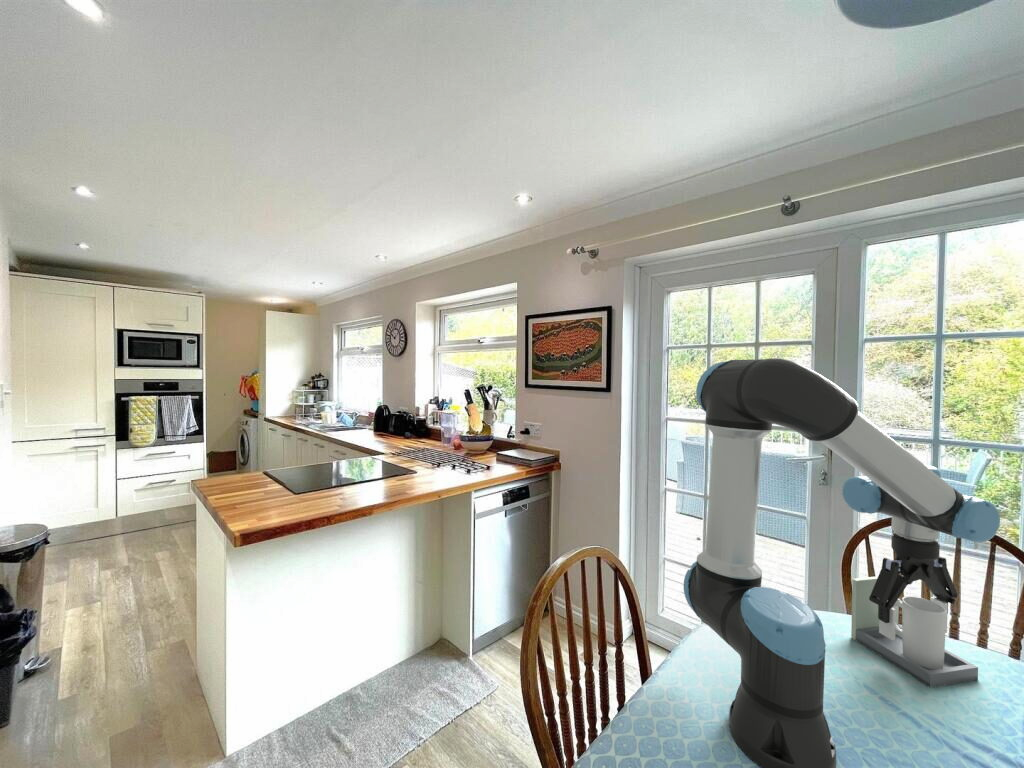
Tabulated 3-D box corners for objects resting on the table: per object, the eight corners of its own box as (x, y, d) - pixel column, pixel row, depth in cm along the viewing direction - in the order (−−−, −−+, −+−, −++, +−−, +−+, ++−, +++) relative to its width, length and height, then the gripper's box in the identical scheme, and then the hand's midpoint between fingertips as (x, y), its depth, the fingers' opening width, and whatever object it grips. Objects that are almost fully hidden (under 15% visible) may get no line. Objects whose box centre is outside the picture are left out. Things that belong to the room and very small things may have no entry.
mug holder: (929, 687, 83) (931, 617, 83) (851, 637, 99) (852, 578, 99) (977, 679, 85) (979, 611, 85) (893, 632, 101) (894, 574, 101)
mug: (953, 667, 88) (954, 610, 87) (931, 674, 86) (932, 615, 86) (897, 638, 97) (898, 587, 97) (876, 644, 95) (877, 591, 95)
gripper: (885, 546, 85) (883, 650, 86) (982, 538, 90) (980, 636, 90) (849, 533, 93) (847, 628, 93) (941, 525, 97) (939, 617, 97)
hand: (912, 632), depth 91 cm, fingers open, 13 cm apart
